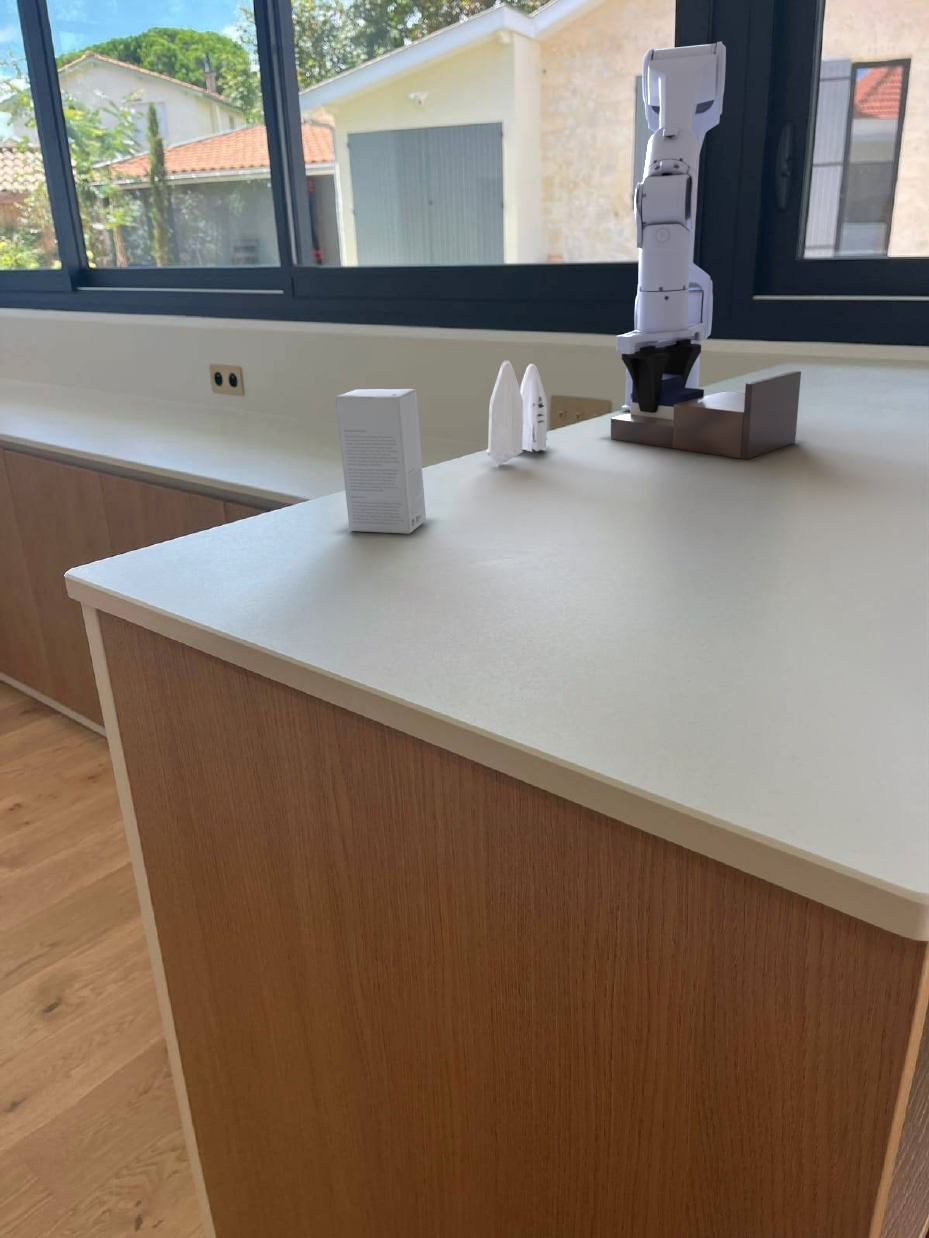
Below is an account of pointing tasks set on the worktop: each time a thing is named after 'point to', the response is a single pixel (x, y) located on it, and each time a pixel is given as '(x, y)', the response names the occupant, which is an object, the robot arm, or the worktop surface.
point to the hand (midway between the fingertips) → (659, 408)
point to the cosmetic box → (381, 459)
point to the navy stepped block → (667, 397)
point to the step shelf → (724, 421)
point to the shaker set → (516, 414)
